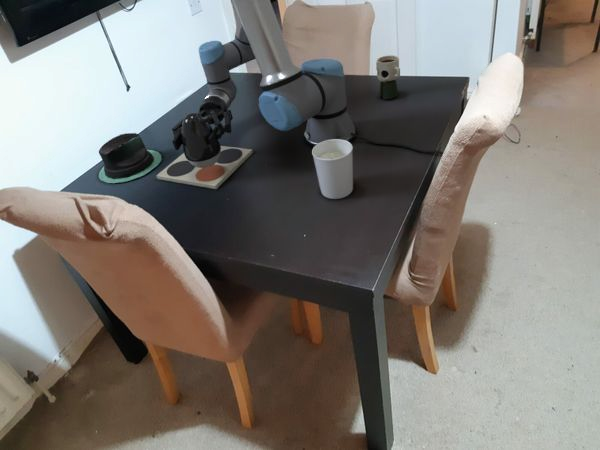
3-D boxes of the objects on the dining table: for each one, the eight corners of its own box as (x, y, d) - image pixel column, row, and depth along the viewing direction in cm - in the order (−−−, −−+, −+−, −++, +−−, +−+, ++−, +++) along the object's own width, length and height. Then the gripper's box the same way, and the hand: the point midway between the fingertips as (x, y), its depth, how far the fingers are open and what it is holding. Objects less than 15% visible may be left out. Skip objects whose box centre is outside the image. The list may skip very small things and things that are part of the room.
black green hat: (127, 144, 151) (175, 149, 144) (106, 192, 146) (154, 200, 138) (97, 119, 138) (147, 123, 131) (72, 171, 132) (124, 178, 125)
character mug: (370, 96, 154) (368, 59, 146) (385, 89, 156) (384, 52, 148) (391, 104, 146) (391, 66, 138) (407, 97, 149) (407, 58, 141)
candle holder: (332, 175, 118) (327, 135, 111) (363, 185, 113) (360, 143, 105) (310, 194, 113) (303, 154, 106) (341, 205, 107) (336, 163, 100)
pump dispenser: (218, 172, 120) (202, 121, 110) (183, 173, 122) (165, 123, 113) (229, 153, 127) (216, 104, 118) (196, 154, 130) (180, 105, 120)
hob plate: (253, 152, 135) (252, 148, 134) (216, 189, 122) (215, 185, 121) (197, 145, 144) (195, 142, 144) (157, 179, 131) (155, 175, 130)
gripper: (252, 115, 134) (236, 153, 116) (184, 121, 137) (159, 159, 120) (247, 92, 129) (229, 128, 112) (176, 99, 133) (149, 135, 116)
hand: (193, 144), depth 116 cm, fingers closed on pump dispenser, 9 cm apart
